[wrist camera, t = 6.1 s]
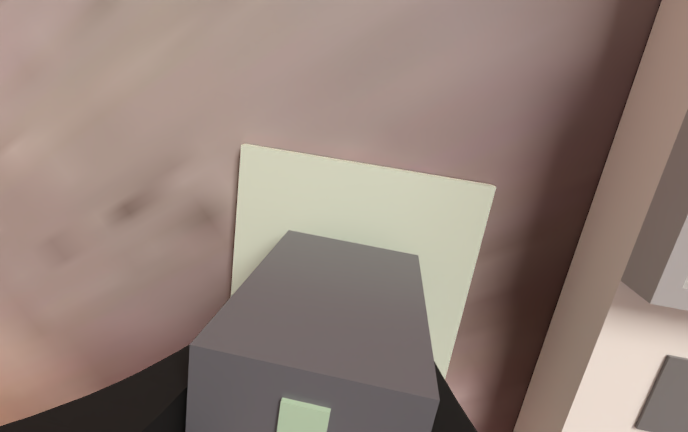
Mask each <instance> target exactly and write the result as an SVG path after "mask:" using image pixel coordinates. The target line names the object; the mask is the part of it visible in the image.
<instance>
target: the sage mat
mask: <svg viewBox="0 0 688 432" xmlns="http://www.w3.org/2000/svg"><path fill="white" fill-rule="evenodd" d="M495 190H496V187H495V186H494V185H492V184H486V183H480V182H474V181H468V180H462V179H456V178H450V177H444V176H438V175H432V174H426V173H419V172H413V171H407V170H401V169H395V168H389V167H383V166H377V165H371V164H365V163H359V162H353V161H347V160H341V159H335V158H329V157H323V156H317V155H311V154H305V153H299V152H293V151H287V150H281V149H275V148H269V147H263V146H257V145H251V144H242V145H241V153H240V168H239V182H238V197H237V212H236V226H235V241H234V256H233V271H232V285H231V296H232V295H233V294H234V293H235V292H236V290H237V289H238V288H239V287H240V286H241V285H242V283H243V282H244V281H245V280H246V279H247V278H248V277H249V275H250V274H251V273H252V272H253V271H254V270H255V268H256V267H257V266H258V265H259V264H260V263H261V261H262V260H263V259H264V258H265V257H266V256H267V255H268V253H269V252H270V251H271V250H272V249H273V248H274V246H275V245H276V244H277V243H278V242H279V241H280V239H281V238H282V237H283V236H284V235H285V234H286V233H287V231H288V230H291V231H296V232H301V233H306V234H312V235H317V236H322V237H327V238H332V239H337V240H342V241H347V242H353V243H358V244H363V245H368V246H373V247H378V248H383V249H389V250H394V251H399V252H404V253H409V254H414V255H418V257H419V264H420V271H421V277H422V284H423V291H424V297H425V304H426V311H427V318H428V324H429V331H430V338H431V344H432V351H433V358H434V361H435V363H436V365H437V367H438V369H439V370H440V372H441V374H442V376H443V377H444V379H445V377H446V373H447V370H448V366H449V362H450V358H451V355H452V351H453V347H454V343H455V340H456V336H457V332H458V328H459V325H460V321H461V317H462V313H463V310H464V306H465V302H466V298H467V295H468V291H469V287H470V283H471V280H472V276H473V272H474V268H475V265H476V261H477V257H478V253H479V250H480V246H481V242H482V238H483V235H484V231H485V227H486V223H487V220H488V216H489V212H490V208H491V205H492V201H493V197H494V193H495Z"/></svg>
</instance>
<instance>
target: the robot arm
mask: <svg viewBox="0 0 688 432" xmlns="http://www.w3.org/2000/svg"><path fill="white" fill-rule="evenodd" d="M189 349H190V345H188V346H186V347H185V348H183V349H181V350H180V351H178V352H176V353H174V354H172V355H171V356H169V357H167V358H165V359H163V360H161V361H159V362H157V363H156V364H154V365H152V366H150V367H148V368H146V369H144V370H143V371H141V372H139V373H137V374H135V375H133V376H130V377H128V378H126V379H124V380H122V381H120V382H118V383H115V384H113V385H111V386H109V387H106V388H104V389H102V390H99V391H97V392H95V393H92V394H90V395H87V396H85V397H82V398H80V399H77V400H74V401H72V402H69V403H66V404H64V405H61V406H58V407H55V408H53V409H50V410H47V411H45V412H42V413H39V414H36V415H34V416H31V417H28V418H25V419H21V420H18V421H15V422H12V423H9V424H6V425H3V426H0V432H185V430H186V410H187V389H188V369H189ZM434 365H435V371H436V378H437V385H438V391H439V398H440V402H439V405H438V409H437V412H436V416H435V419H434V423H433V427H432V430H431V432H477V431H476V429H475V428H474V426H473V425H472V423H471V422H470V420H469V419H468V417H467V415H466V414H465V412H464V411H463V409H462V408H461V406H460V404H459V403H458V401H457V400H456V398H455V396H454V395H453V393H452V391H451V390H450V388H449V386H448V384H447V383H446V381H445V379H444V377H443V376H442V374H441V372H440V370H439V369H438V367H437V365H436V363H435V361H434Z"/></svg>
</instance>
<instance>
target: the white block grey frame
mask: <svg viewBox="0 0 688 432" xmlns="http://www.w3.org/2000/svg"><path fill="white" fill-rule="evenodd" d="M513 432H688V0H662V1H661V4H660V7H659V10H658V12H657V15H656V18H655V21H654V24H653V27H652V30H651V33H650V36H649V39H648V42H647V44H646V47H645V50H644V53H643V56H642V59H641V62H640V65H639V68H638V71H637V73H636V76H635V79H634V82H633V85H632V88H631V91H630V94H629V97H628V100H627V102H626V105H625V108H624V111H623V114H622V117H621V120H620V123H619V126H618V129H617V131H616V134H615V137H614V140H613V143H612V146H611V149H610V152H609V155H608V158H607V160H606V163H605V166H604V169H603V172H602V175H601V178H600V181H599V184H598V187H597V190H596V192H595V195H594V198H593V201H592V204H591V207H590V210H589V213H588V216H587V219H586V221H585V224H584V227H583V230H582V233H581V236H580V239H579V242H578V245H577V248H576V250H575V253H574V256H573V259H572V262H571V265H570V268H569V271H568V274H567V277H566V279H565V282H564V285H563V288H562V291H561V294H560V297H559V300H558V303H557V306H556V308H555V311H554V314H553V317H552V320H551V323H550V326H549V329H548V332H547V335H546V338H545V340H544V343H543V346H542V349H541V352H540V355H539V358H538V361H537V364H536V367H535V369H534V372H533V375H532V378H531V381H530V384H529V387H528V390H527V393H526V396H525V398H524V401H523V404H522V407H521V410H520V413H519V416H518V419H517V422H516V425H515V427H514V430H513Z"/></svg>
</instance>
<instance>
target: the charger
mask: <svg viewBox="0 0 688 432" xmlns="http://www.w3.org/2000/svg"><path fill="white" fill-rule="evenodd" d="M439 402H440V398H439V391H438V385H437V378H436V371H435V365H434V358H433V351H432V344H431V338H430V331H429V324H428V318H427V311H426V304H425V297H424V291H423V284H422V277H421V271H420V264H419V257H418V255H414V254H409V253H404V252H399V251H394V250H389V249H383V248H378V247H373V246H368V245H363V244H358V243H353V242H347V241H342V240H337V239H332V238H327V237H322V236H317V235H312V234H306V233H301V232H296V231H291V230H288V231H287V233H286V234H285V235H284V236H283V237H282V238H281V239H280V241H279V242H278V243H277V244H276V245H275V246H274V248H273V249H272V250H271V251H270V252H269V253H268V255H267V256H266V257H265V258H264V259H263V260H262V261H261V263H260V264H259V265H258V266H257V267H256V268H255V270H254V271H253V272H252V273H251V274H250V275H249V277H248V278H247V279H246V280H245V281H244V282H243V283H242V285H241V286H240V287H239V288H238V289H237V290H236V292H235V293H234V294H233V295H232V296H231V297H230V299H229V300H228V301H227V302H226V303H225V304H224V305H223V307H222V308H221V309H220V310H219V311H218V312H217V314H216V315H215V316H214V317H213V318H212V319H211V321H210V322H209V323H208V324H207V325H206V326H205V327H204V329H203V330H202V331H201V332H200V333H199V334H198V336H197V337H196V338H195V339H194V340H193V341H192V343H191V344H190V349H189V369H188V389H187V410H186V430H185V432H431V430H432V427H433V423H434V419H435V416H436V412H437V409H438V405H439Z"/></svg>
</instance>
